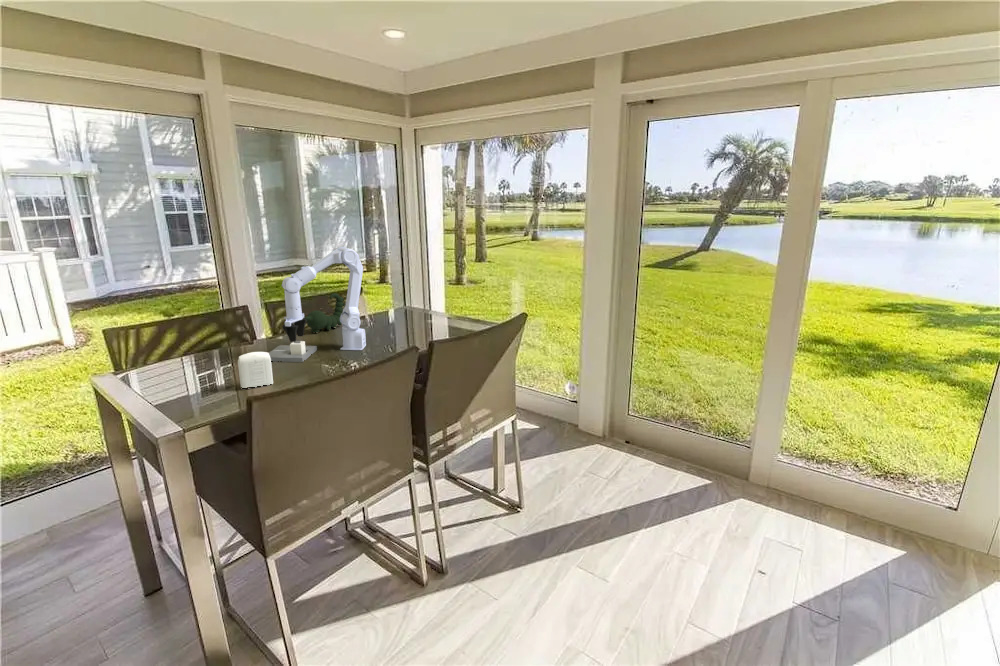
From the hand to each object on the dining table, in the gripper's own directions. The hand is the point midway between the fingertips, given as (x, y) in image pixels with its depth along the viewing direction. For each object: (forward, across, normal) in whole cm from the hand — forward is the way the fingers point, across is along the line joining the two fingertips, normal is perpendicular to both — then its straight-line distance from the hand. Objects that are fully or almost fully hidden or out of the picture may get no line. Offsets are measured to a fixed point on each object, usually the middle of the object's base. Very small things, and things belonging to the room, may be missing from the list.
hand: (296, 338), depth 191 cm
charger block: (+8, 0, 0) cm, 8 cm away
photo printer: (+8, +32, -2) cm, 33 cm away
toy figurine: (+8, -40, -3) cm, 41 cm away
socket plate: (+8, -1, -4) cm, 8 cm away
